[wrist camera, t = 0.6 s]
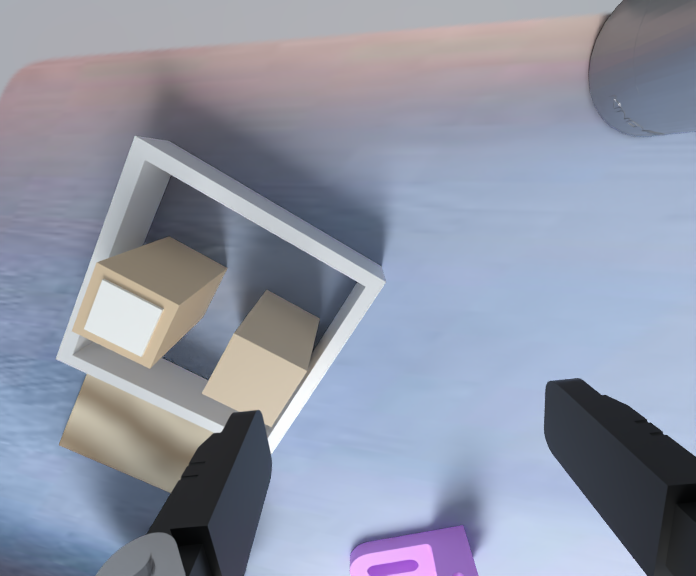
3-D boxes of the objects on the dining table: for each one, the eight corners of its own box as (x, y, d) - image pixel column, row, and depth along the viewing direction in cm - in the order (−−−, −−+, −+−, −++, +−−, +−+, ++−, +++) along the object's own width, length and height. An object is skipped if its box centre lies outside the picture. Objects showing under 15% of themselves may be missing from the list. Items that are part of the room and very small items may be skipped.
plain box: (266, 289, 28) (234, 333, 21) (319, 318, 29) (307, 371, 21) (240, 336, 30) (201, 393, 22) (292, 363, 30) (271, 427, 23)
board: (102, 344, 30) (96, 349, 29) (267, 423, 33) (264, 429, 32) (65, 438, 34) (58, 445, 33) (215, 503, 36) (212, 511, 35)
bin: (168, 140, 25) (135, 135, 21) (381, 266, 27) (386, 281, 24) (93, 335, 30) (55, 359, 26) (278, 424, 33) (268, 458, 29)
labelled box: (166, 234, 27) (90, 261, 19) (227, 268, 28) (177, 306, 20) (144, 287, 28) (65, 331, 21) (203, 317, 29) (148, 370, 21)
